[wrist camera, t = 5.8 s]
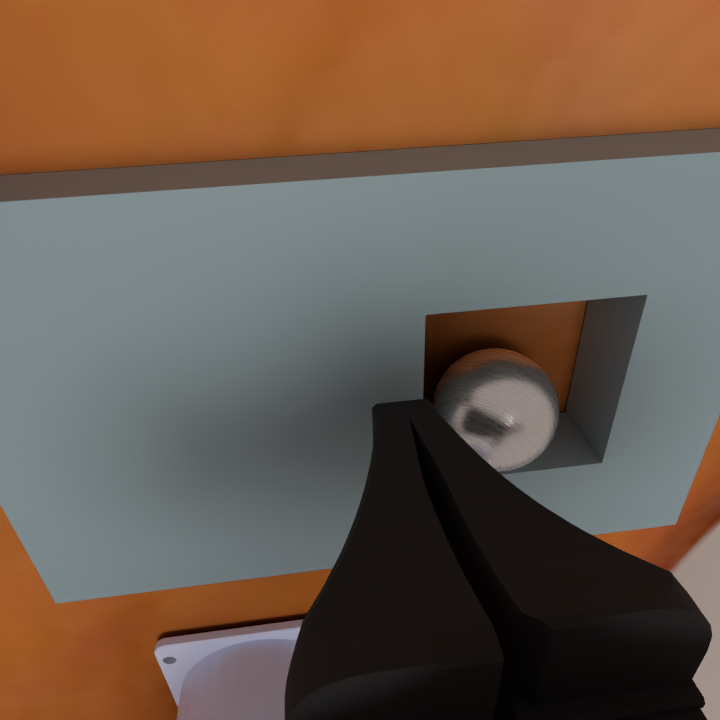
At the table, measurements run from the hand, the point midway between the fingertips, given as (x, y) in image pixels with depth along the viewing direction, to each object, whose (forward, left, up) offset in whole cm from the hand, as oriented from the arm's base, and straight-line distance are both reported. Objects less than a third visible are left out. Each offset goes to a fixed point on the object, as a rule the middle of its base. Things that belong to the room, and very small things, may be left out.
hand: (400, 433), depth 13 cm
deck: (0, +1, -3) cm, 3 cm away
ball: (-1, -3, -2) cm, 4 cm away
